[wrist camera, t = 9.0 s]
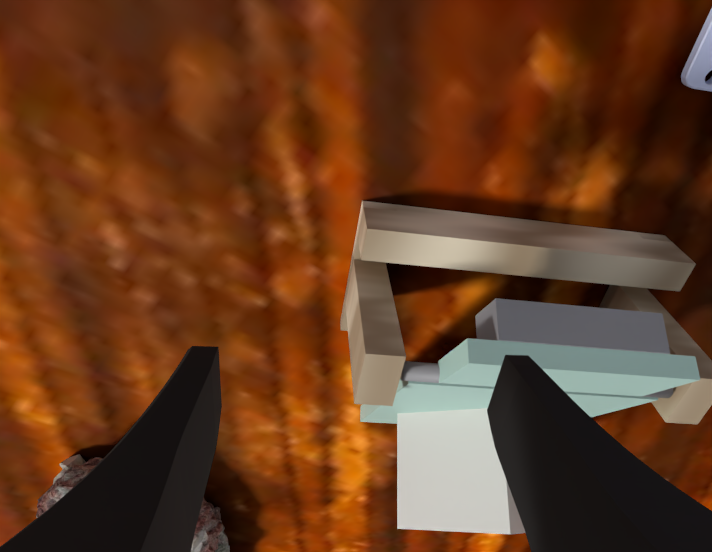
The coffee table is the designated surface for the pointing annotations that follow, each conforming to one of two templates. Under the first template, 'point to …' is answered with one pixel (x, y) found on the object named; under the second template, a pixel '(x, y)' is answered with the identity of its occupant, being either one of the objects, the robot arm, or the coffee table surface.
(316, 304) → the coffee table surface
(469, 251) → the frame
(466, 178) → the coffee table surface
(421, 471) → the white cube
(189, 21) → the coffee table surface
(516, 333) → the trapdoor
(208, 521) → the mineral rock
